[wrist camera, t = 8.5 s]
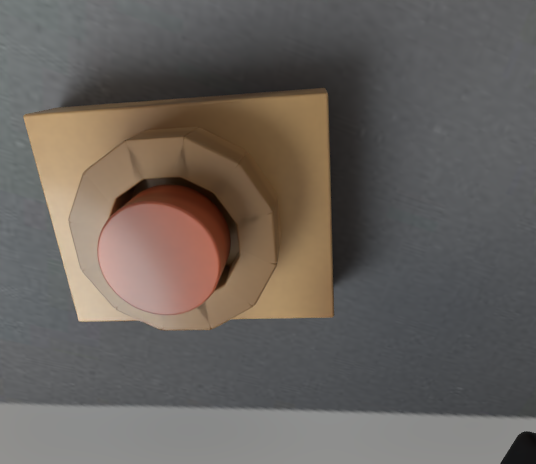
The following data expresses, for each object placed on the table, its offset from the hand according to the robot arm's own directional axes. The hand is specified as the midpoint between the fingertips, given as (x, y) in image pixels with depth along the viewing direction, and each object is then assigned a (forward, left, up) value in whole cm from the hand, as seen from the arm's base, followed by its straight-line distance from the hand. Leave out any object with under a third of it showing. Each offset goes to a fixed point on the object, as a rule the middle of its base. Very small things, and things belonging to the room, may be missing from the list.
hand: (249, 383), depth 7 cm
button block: (-1, +3, -11) cm, 11 cm away
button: (-1, +3, -7) cm, 8 cm away
